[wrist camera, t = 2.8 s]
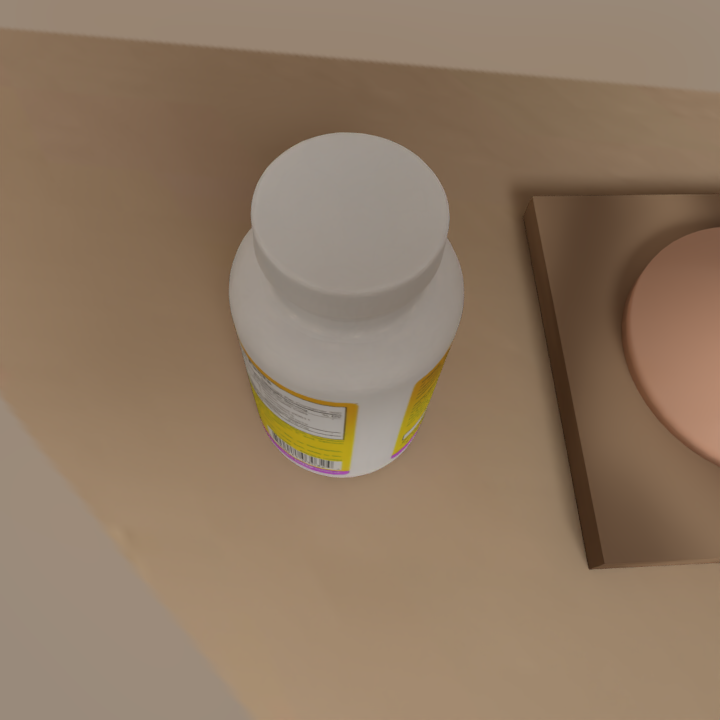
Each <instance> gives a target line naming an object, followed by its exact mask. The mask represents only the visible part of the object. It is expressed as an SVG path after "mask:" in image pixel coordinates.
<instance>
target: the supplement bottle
mask: <svg viewBox="0 0 720 720" xmlns="http://www.w3.org/2000/svg"><path fill="white" fill-rule="evenodd" d="M449 221H450V216H449V204H448V200H447V196H446V194H445V191H444V188H443V187H442V185H441V183H440V181H439V179H438V178H437V176H436V175H435V173H434V172H433V171H432V170H431V169H430V168H429V166H428V165H427V164H426V163H425V162H424V161H423V160H422V159H421V158H419V157H418V156H417V155H416V154H414V153H413V152H412V151H410V150H408V149H407V148H405V147H403V146H402V145H400V144H398V143H395V142H393V141H391V140H388V139H385V138H382V137H378V136H374V135H369V134H363V133H343V132H340V133H332V134H325V135H320V136H316V137H313V138H310V139H307V140H305V141H302V142H300V143H298V144H296V145H294V146H292V147H291V148H289V149H288V150H286V151H285V152H283V153H282V154H281V155H279V156H278V157H277V158H276V159H275V160H274V161H273V162H272V163H271V164H270V165H269V166H268V167H267V168H266V170H265V171H264V173H263V174H262V176H261V177H260V179H259V181H258V183H257V185H256V189H255V191H254V194H253V198H252V204H251V224H252V228H251V229H250V230H249V231H248V233H247V234H246V235H245V237H244V238H243V240H242V242H241V244H240V246H239V248H238V250H237V252H236V255H235V258H234V260H233V264H232V267H231V272H230V279H229V302H230V309H231V314H232V319H233V323H234V327H235V330H236V333H237V337H238V340H239V343H240V347H241V350H242V354H243V358H244V362H245V365H246V370H247V373H248V377H249V380H250V384H251V387H252V391H253V394H254V398H255V401H256V405H257V408H258V412H259V415H260V418H261V421H262V424H263V426H264V428H265V430H266V432H267V434H268V436H269V438H270V439H271V441H272V442H273V444H274V445H275V446H276V447H277V448H278V450H279V451H280V452H281V453H282V454H283V455H284V456H285V457H287V458H288V459H289V460H290V461H292V462H293V463H295V464H296V465H298V466H300V467H301V468H303V469H306V470H308V471H311V472H313V473H316V474H319V475H324V476H329V477H342V478H343V477H356V476H360V475H365V474H368V473H371V472H374V471H376V470H378V469H380V468H382V467H384V466H386V465H387V464H389V463H391V462H392V461H393V460H394V459H396V458H397V457H398V456H399V455H400V454H402V453H403V451H404V450H405V449H406V448H407V447H408V446H409V444H410V443H411V441H412V440H413V438H414V436H415V435H416V433H417V431H418V429H419V427H420V424H421V422H422V420H423V417H424V415H425V412H426V409H427V407H428V404H429V401H430V399H431V396H432V393H433V391H434V388H435V386H436V383H437V380H438V377H439V375H440V372H441V370H442V367H443V365H444V362H445V359H446V357H447V354H448V352H449V349H450V347H451V344H452V342H453V340H454V337H455V334H456V332H457V329H458V326H459V323H460V319H461V316H462V311H463V304H464V281H463V275H462V270H461V267H460V263H459V261H458V258H457V255H456V253H455V251H454V250H453V247H452V245H451V243H450V241H449V240H448V238H447V234H448V230H449Z"/></svg>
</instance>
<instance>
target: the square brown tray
mask: <svg viewBox="0 0 720 720" xmlns="http://www.w3.org/2000/svg"><path fill="white" fill-rule="evenodd" d="M523 218H524V223H525V228H526V234H527V239H528V244H529V250H530V255H531V260H532V266H533V271H534V276H535V282H536V287H537V292H538V298H539V303H540V308H541V314H542V319H543V325H544V330H545V335H546V341H547V346H548V351H549V357H550V362H551V367H552V373H553V378H554V383H555V389H556V394H557V399H558V405H559V410H560V415H561V421H562V426H563V431H564V437H565V442H566V448H567V453H568V458H569V464H570V469H571V474H572V480H573V485H574V490H575V496H576V501H577V506H578V512H579V517H580V522H581V528H582V533H583V538H584V544H585V549H586V555H587V560H588V565H589V569H606V568H626V567H645V566H664V565H684V564H703V563H720V467H719V466H717V465H715V464H713V463H711V462H709V461H707V460H705V459H704V458H702V457H701V456H699V455H698V454H696V453H695V452H693V451H692V450H691V449H689V448H688V447H686V446H685V445H684V444H683V443H682V442H680V441H679V440H678V439H677V438H676V437H675V436H673V435H672V434H671V433H670V432H669V431H668V430H667V429H666V428H665V426H664V425H663V424H662V423H661V422H660V421H659V420H658V419H657V418H656V416H655V415H654V414H653V412H652V411H651V410H650V409H649V407H648V406H647V405H646V403H645V401H644V400H643V398H642V396H641V395H640V393H639V391H638V390H637V388H636V386H635V383H634V381H633V379H632V377H631V374H630V372H629V369H628V366H627V362H626V359H625V356H624V350H623V344H622V326H621V324H622V317H623V309H624V306H625V303H626V299H627V296H628V294H629V292H630V290H631V288H632V286H633V284H634V282H635V281H636V280H637V278H638V277H639V275H640V274H641V273H642V271H643V270H644V269H645V268H646V266H647V265H648V264H649V263H650V262H651V260H652V259H653V258H654V257H655V256H656V255H657V254H658V253H659V252H660V251H661V250H662V249H664V248H665V247H667V246H668V245H669V244H671V243H672V242H674V241H676V240H678V239H680V238H682V237H684V236H686V235H688V234H691V233H694V232H697V231H700V230H705V229H710V228H716V227H720V194H673V195H589V196H532V198H531V200H530V203H529V205H528V207H527V209H526V211H525V214H524V216H523Z"/></svg>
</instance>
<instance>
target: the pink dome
mask: <svg viewBox="0 0 720 720" xmlns="http://www.w3.org/2000/svg"><path fill="white" fill-rule="evenodd" d="M621 326H622V344H623V350H624V356H625V359H626V362H627V366H628V369H629V372H630V374H631V377H632V379H633V381H634V383H635V386H636V388H637V390H638V391H639V393H640V395H641V396H642V398H643V400H644V401H645V403H646V405H647V406H648V407H649V409H650V410H651V411H652V412H653V414H654V415H655V416H656V418H657V419H658V420H659V421H660V422H661V423H662V424H663V425H664V426H665V428H666V429H667V430H668V431H669V432H670V433H671V434H672V435H673V436H675V437H676V438H677V439H678V440H679V441H680V442H682V443H683V444H684V445H685V446H686V447H688V448H689V449H691V450H692V451H693V452H695V453H696V454H698V455H699V456H701V457H702V458H704V459H705V460H707V461H709V462H711V463H713V464H715V465H717V466H719V467H720V227H716V228H710V229H705V230H700V231H697V232H694V233H691V234H688V235H686V236H684V237H682V238H680V239H678V240H676V241H674V242H672V243H671V244H669V245H668V246H667V247H665V248H664V249H662V250H661V251H660V252H659V253H658V254H657V255H656V256H655V257H654V258H653V259H652V260H651V262H650V263H649V264H648V265H647V266H646V268H645V269H644V270H643V271H642V273H641V274H640V275H639V277H638V278H637V280H636V281H635V282H634V284H633V286H632V288H631V290H630V292H629V294H628V296H627V299H626V303H625V306H624V309H623V317H622V324H621Z"/></svg>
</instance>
